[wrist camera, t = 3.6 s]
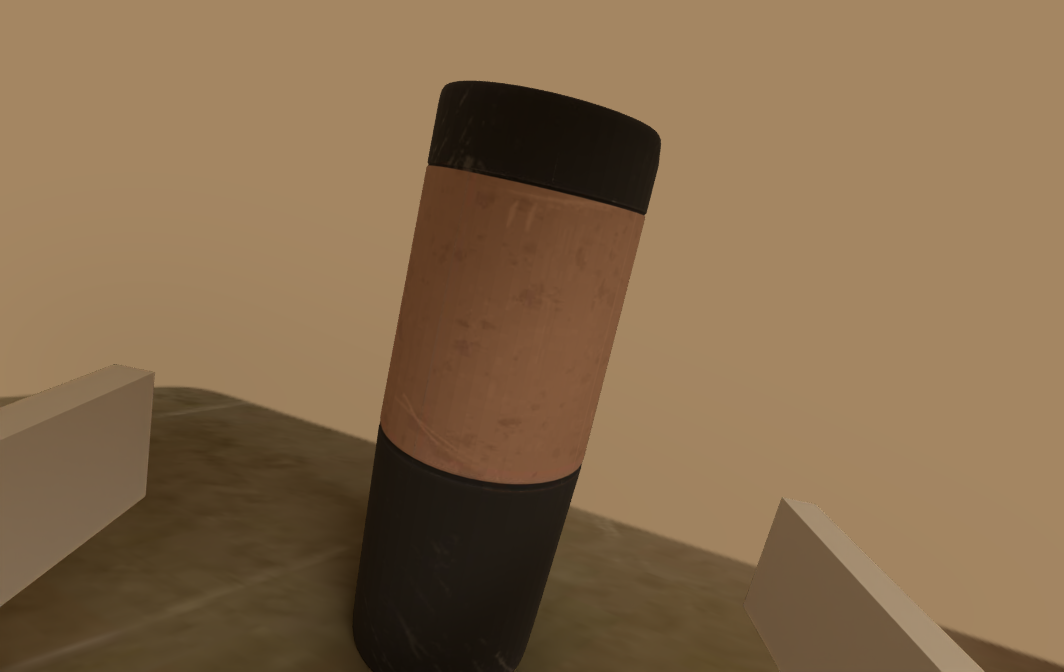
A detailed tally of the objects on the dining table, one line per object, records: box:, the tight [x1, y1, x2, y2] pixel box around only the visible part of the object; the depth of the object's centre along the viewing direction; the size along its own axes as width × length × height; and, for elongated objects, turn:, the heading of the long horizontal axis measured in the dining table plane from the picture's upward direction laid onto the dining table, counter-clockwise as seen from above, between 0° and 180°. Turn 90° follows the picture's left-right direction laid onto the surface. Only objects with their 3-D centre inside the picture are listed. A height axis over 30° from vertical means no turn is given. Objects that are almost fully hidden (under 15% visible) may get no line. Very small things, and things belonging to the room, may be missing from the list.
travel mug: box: [353, 81, 661, 672], centre depth 20 cm, size 8×8×20 cm
